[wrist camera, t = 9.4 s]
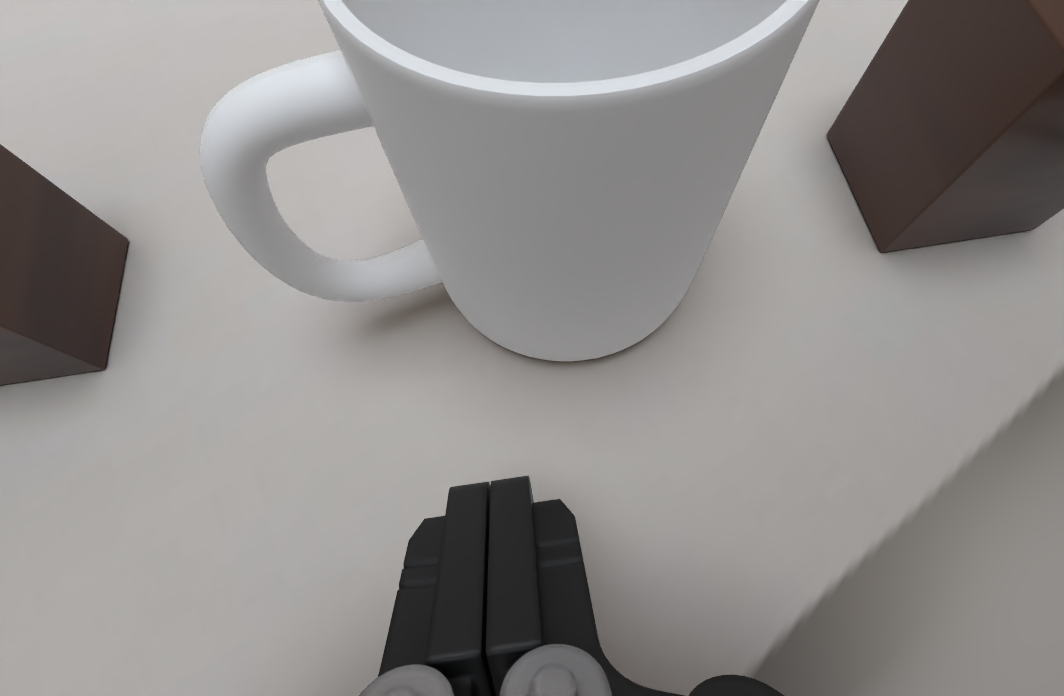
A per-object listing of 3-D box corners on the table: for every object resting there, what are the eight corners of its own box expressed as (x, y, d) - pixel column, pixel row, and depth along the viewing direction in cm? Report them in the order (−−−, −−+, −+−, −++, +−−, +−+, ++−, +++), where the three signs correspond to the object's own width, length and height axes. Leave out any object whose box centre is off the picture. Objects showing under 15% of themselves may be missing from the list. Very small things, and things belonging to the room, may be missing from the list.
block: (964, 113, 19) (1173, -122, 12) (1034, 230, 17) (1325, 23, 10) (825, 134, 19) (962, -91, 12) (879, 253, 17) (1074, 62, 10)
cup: (741, 308, 16) (975, -29, 7) (374, 460, 15) (72, 298, 6) (623, 124, 20) (677, -283, 10) (309, 239, 18) (44, -98, 9)
